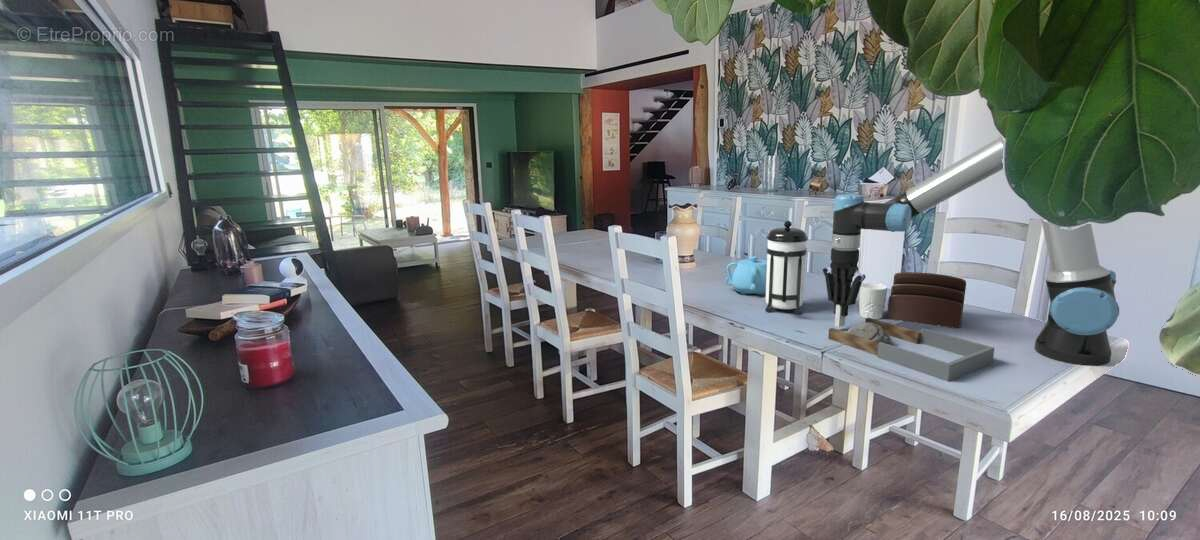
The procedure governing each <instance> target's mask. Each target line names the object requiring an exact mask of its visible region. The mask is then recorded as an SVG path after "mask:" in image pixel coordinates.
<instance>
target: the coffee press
mask: <svg viewBox="0 0 1200 540" xmlns="http://www.w3.org/2000/svg"><path fill="white" fill-rule="evenodd" d="M791 226H792V222H791V221H790V220H786V221H784V222H783V227H778V228H773V229H772V230H770V231H769V232H768V235H767V236H766V240H767V247H766V261H767V274H766V293H765V303H766V304H767V306H766V307H765V312H767V313H772V311H773V310H774V309H778V310H792V311H794V313H795V315H796V316H797V315H801V314H802V313H803V310H802V308H801V307H802V306H803V304H804V303H803V302H804V290H805V287H804V286H805V285H804V284H805V275H806V274H805V273H806V272H805V270H806V255H807V250H808V249H807V242H808V241H809V240H808V239H809V237H808V236H807V234H806V232H805V231H804V230H803V229H799V228H796V227H795V228H794V227H791Z"/></svg>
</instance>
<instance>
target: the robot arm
mask: <svg viewBox="0 0 1200 540" xmlns="http://www.w3.org/2000/svg"><path fill="white" fill-rule="evenodd" d="M1003 147H1004V140H1003V138H1002V137H1001V136H1000V135H999V137H998V138H996V139H994V140H993V141H991V142H989V143H988V144H986V145H984V146H982V147H980V148H979V149H977V150H975V151H973V152H972V153H970V154H968V155H966V156H965V157H963V158H961V159H959V160H957V161H956V162H954V163H953V164H951V165H949V166H947V167H946V168H944V169H942V170H940V171H938V172H937V173H935V174H933V175H932V176H930V177H928V178H927V179H924V180H923V181H921V182H919V183H917V184H916V185H914V186H913V187H911V188H909V189H907V190H906V191H904V192H902V193H901V194H899V195H897V196H895V197H893V198H891V199H890V200H887V201H885V202H866V201H865V200H864V195H862V194H855V193H843V194H838V195H837V196H836V197H835V198H834V207H833V217H832V234H831V235H832V236H831V247H832V248H831V250H830V261H831V263H830V264H829V266H828V267H824V268H823V269H822V272H823V274H824V276H825V277H824V278H825V286H826V291H827V297H828V298H827V299H828V301H830V302H833V314H834V315H835V316H834V317H835V319H834V327H836V328H841V327H844V326H845V325H846V317H848V316H849V315H848V314H849V306H853V305H855V304H856V302H857V300H858V299H857V298H858V297H859V293H860V287H861V284H863V283H862V282H863V281H864V280H865V279H866V274H862V273H860V272H859V266H858V264H859V261H860V250H859V248H861V237H862V230H871V231H885V232H892V233H895V232H897V233H898V232H901V233H903V232H906V231H908V230H909V228H910V225H911V220H912V219H913V218H915V217H916V216H919V215H920V214H922V213H923V212H925V211H927V210H929V209H932V208H933V207H935V206H937V205H939V204H940V203H942V202H944V201H946V200H948V199H950V198H951V197H954V196H956V195H958V194H960V193H961V192H963V191H964V190H967V189H969V188H970V187H972V186H974V185H976V184H977V183H980V182H982V181H984V180H986V179H988V178H989V177H991V176H994V175H995V174H997V173H999V172H1001V171H1003V170H1004V169H1003V163H1002V159H1003ZM1040 219H1041V218H1040ZM1041 225H1042V230H1043V234H1044V235H1043V236H1044V239H1045V244H1046V248H1047V253H1048V257H1049V264H1050V267H1051V271H1050V272H1049V274H1048V275H1047V276H1046V277H1045V283H1046V288H1047V293H1048V296H1049V297H1048V298H1049V309H1048V314H1047V321H1046V323H1045V324H1044V326H1043V327H1042V329H1041V331H1040V333H1039V334H1038V336H1037V337H1036V339H1035V343H1034V351H1036V352H1038V353H1039V354H1041V355H1043V356H1045V357H1046V358H1049V359H1053V360H1057V361H1060V362H1061V361H1062V362H1064V363H1065V362H1066V363H1071V364H1078V365H1086V366H1087V365H1090V366H1100V365H1105V364H1109V363H1110V361H1111V357H1112V351H1111V350H1112V349H1111V345H1110V341H1109V337H1108V332H1107V331H1108V330H1109V329H1110V328H1111V327H1113V326H1114V324H1116V322H1117V320H1118V317H1119V315H1120V307H1119V303H1118V302H1117V299H1116V294H1115V290H1114V289H1115V284H1117V275H1116V274H1117V273H1116V272H1115V271H1114V270H1110V269H1107V268H1106V267H1104V266H1102V265H1101V264H1100V261H1099V256H1098V252H1097V251H1098V249H1097V246H1096V241H1095V237H1094V232H1093V227H1092V223H1091V224H1086V225H1084V226H1081V227H1079V228H1077V229H1074V230H1070V231H1069V230H1065V229H1059V228H1057V227H1055V226H1053V225H1051V224H1049V223H1047V222H1045V221H1043V220H1042V219H1041Z"/></svg>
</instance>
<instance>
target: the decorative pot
mask: <svg viewBox="0 0 1200 540" xmlns="http://www.w3.org/2000/svg"><path fill="white" fill-rule="evenodd" d="M758 258H759V257H758V256H756V255H750V256H748V258H746V259H745V258H744V259H740V260H738V261H737V262H735V261H733V262H730V263H729V264H727V266H726V271H727V275H728V277H726V278H725V283H726V285H731V286H732V288H733V289H734V291H736V292H737V293H739V294H740V295H742V294H743V296H744V295H745V296H746V295H748V294H757V295H758V296H766V274H767V259H766V260H765V259H758ZM731 266H735V267H734V270H733V272H732V274H731V271H730V268H731ZM728 280H729V281H728Z"/></svg>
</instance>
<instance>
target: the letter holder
mask: <svg viewBox="0 0 1200 540" xmlns="http://www.w3.org/2000/svg"><path fill="white" fill-rule="evenodd" d="M966 289H967V281H966V280H965V279H964V278H961V277H957V276H952V275H945V274H939V273H931V272H916V271H915V272H914V271H913V272H912V271H911V272H910V271H907V272H905V271H903V272H901V271H900V272H895V273H894V275H893V284H892V286H891V288H890V290H891V291H890V295H889V297H888V301H887V312H886V313H887V314H886V319H888V320H893V319H895V320H894V321H900V320H902V321H903V322H908V321H909V322H910V323H915V322H917V323H916V324H922V323H924V325H929V324H932V326H937V325H940V326H939V327H944V326H947V327H946V328H951V327H953V328H954V329H961V328H962V321H963V313H964V304H965V298H966V297H965V295H966ZM902 321H901V322H902Z"/></svg>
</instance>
